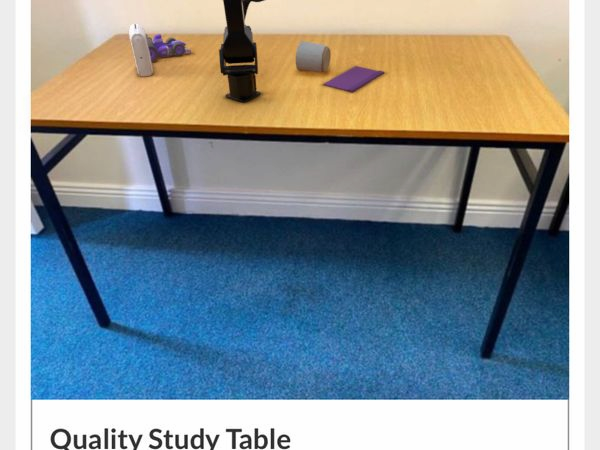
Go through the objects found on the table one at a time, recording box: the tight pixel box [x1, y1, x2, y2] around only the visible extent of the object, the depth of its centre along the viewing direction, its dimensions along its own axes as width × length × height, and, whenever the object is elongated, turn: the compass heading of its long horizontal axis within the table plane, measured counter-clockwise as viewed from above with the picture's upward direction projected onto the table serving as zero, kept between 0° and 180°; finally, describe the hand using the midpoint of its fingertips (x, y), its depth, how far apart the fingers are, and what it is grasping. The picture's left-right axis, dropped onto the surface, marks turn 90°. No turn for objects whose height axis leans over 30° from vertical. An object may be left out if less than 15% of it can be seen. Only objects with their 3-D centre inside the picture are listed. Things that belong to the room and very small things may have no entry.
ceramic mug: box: [295, 40, 332, 74], centre depth 130 cm, size 11×8×8 cm
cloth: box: [322, 65, 385, 94], centre depth 126 cm, size 16×9×1 cm, turn 142°
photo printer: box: [128, 23, 154, 77], centre depth 131 cm, size 10×4×12 cm, turn 17°
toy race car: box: [145, 33, 192, 64], centre depth 143 cm, size 10×15×6 cm, turn 120°
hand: (241, 25), depth 126 cm, fingers closed
